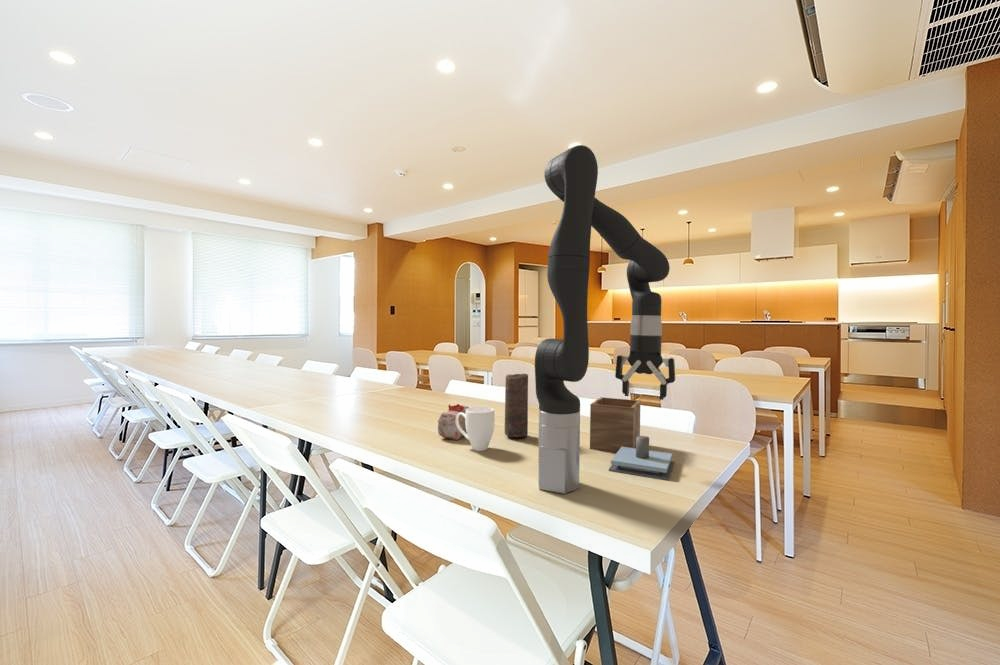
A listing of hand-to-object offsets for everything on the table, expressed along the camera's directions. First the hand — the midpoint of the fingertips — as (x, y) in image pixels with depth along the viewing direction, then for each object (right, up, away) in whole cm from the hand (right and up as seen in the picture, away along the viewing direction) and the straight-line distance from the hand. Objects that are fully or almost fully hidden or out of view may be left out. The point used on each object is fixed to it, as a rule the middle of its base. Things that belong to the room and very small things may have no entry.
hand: (644, 397), depth 111 cm
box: (-2, -17, +18) cm, 25 cm away
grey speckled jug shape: (-51, -17, +30) cm, 61 cm away
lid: (0, -17, +1) cm, 17 cm away
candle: (-31, -17, +27) cm, 45 cm away
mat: (0, -18, +1) cm, 18 cm away
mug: (-44, -17, +16) cm, 50 cm away
